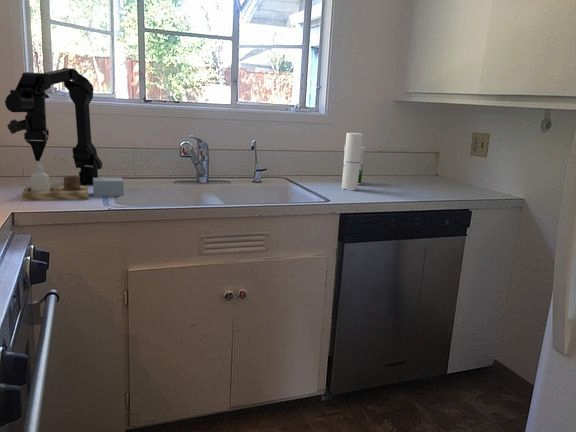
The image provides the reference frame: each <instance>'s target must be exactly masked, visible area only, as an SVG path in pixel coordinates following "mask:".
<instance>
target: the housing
mask: <svg viewBox="0 0 576 432" xmlns="http://www.w3.org/2000/svg"><path fill="white" fill-rule="evenodd" d="M92 187H93V188H92V189H93V190H92V193H93V197H94V198H95V197H99V198H102V197H107V198H108V197H124V196H125V193H124V188H125V187H124V179H123V178H122V177H98V178H93V185H92Z"/></svg>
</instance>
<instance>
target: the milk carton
mask: <svg viewBox="0 0 576 432" xmlns="http://www.w3.org/2000/svg"><path fill="white" fill-rule="evenodd" d="M343 146H344V150H343V151H344V152H343V153H344V154H343V155H344V156H345V145H343ZM365 151H366V147H364V146H362V148H361V158H360V168H359V178H358V183H362V177H363V168H364V167H363V166H364V158H365V157H364V156H365ZM344 156H343V157H344ZM343 167H344V163H343V165H342V168H343ZM341 178H343V174H342V176H341Z"/></svg>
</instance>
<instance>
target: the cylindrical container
mask: <svg viewBox="0 0 576 432" xmlns="http://www.w3.org/2000/svg"><path fill="white" fill-rule="evenodd" d="M363 135H364V134H363V133H360V132H358V133H357V132H346V137H345V144H344V146H345V156H343V164H344V167H343V166H342V175H343V178H342V177H341V178H342V179H341V189H342V188H345V189H357V190H358V187H359V186H358V178H359V168H360V158H361V148H362V147H363Z"/></svg>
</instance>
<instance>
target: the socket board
mask: <svg viewBox="0 0 576 432" xmlns="http://www.w3.org/2000/svg"><path fill="white" fill-rule="evenodd" d="M88 189H89V188H88V185H80V190H69V191H64V185H50V191H31V185H29V186H25V187H24V189H23V191H22V193H21V195H22V199H21V200H22V201H23V202H24V201H25V202H26V201H28V202H29V201H32V202H33V201H73V200H74V201H77V200H78V201H79V200H82V201H84V200H89V190H88Z"/></svg>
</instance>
